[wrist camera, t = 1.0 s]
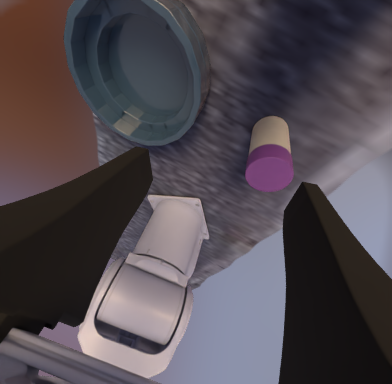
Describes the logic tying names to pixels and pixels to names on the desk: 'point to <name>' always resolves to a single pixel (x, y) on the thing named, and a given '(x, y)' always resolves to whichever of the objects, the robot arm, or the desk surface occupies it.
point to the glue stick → (269, 156)
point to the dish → (139, 66)
